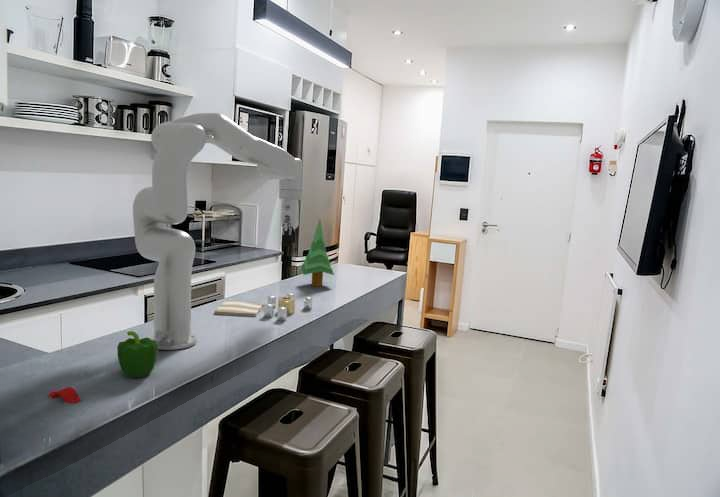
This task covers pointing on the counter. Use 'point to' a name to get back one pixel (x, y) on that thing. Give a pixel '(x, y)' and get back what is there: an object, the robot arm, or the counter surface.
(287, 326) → the counter surface
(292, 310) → the brass nut
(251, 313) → the pad
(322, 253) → the decorative tree
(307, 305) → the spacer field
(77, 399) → the red curved piece
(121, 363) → the bell pepper
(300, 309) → the counter surface
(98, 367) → the counter surface
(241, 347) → the counter surface
